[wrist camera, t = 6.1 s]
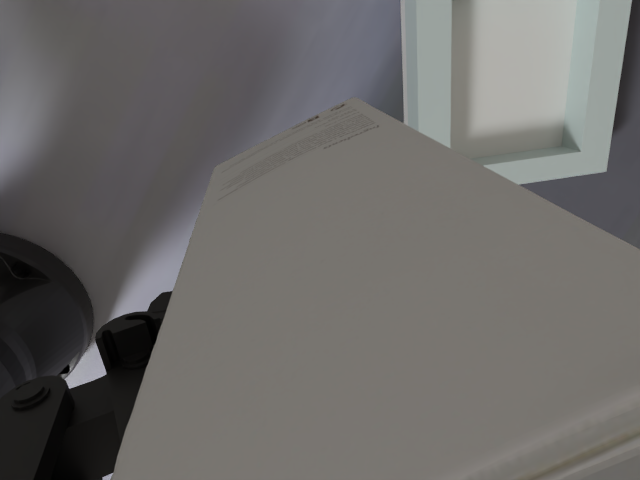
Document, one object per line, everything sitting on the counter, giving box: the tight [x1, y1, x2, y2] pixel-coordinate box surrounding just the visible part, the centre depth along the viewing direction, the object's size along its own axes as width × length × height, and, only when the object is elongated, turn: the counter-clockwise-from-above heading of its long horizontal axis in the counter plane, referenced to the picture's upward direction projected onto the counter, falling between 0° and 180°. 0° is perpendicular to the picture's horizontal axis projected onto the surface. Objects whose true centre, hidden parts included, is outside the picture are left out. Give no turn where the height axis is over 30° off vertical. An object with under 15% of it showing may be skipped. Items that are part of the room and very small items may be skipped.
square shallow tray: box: [401, 0, 632, 184], centre depth 35 cm, size 16×16×4 cm
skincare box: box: [110, 97, 640, 480], centre depth 12 cm, size 8×7×16 cm
